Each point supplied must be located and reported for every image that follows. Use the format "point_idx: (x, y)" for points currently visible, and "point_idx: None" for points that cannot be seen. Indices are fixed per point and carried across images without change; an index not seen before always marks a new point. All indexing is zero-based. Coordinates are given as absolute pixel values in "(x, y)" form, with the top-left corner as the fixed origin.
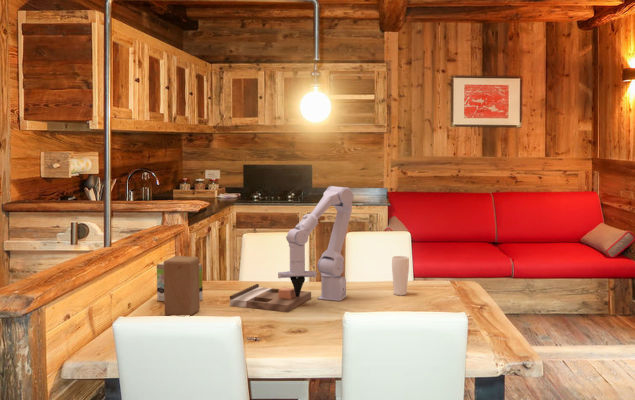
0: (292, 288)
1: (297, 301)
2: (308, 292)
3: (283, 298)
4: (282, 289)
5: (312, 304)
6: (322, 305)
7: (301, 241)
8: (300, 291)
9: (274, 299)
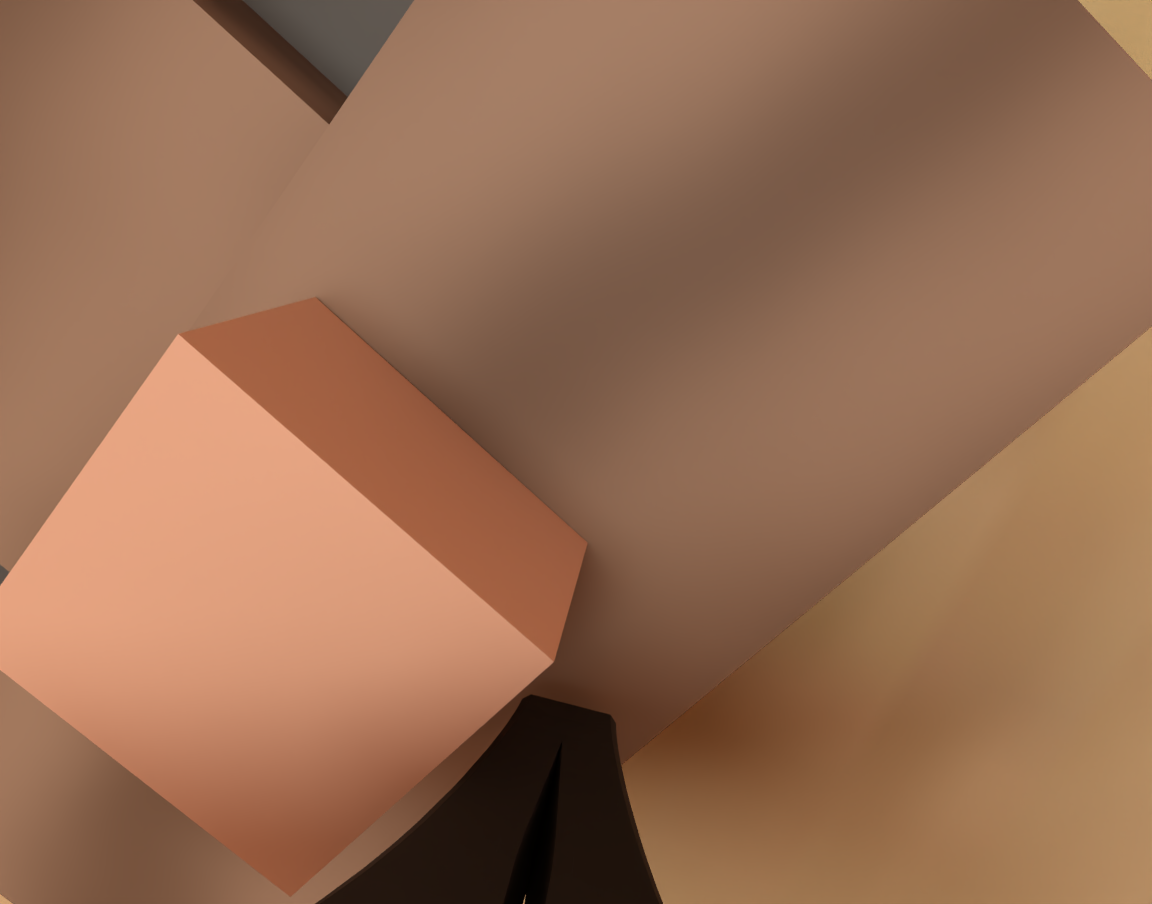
0: (436, 635)
1: None
2: (1139, 277)
3: None
4: (93, 629)
5: (878, 743)
6: (1029, 877)
7: None
8: (954, 24)
9: None
